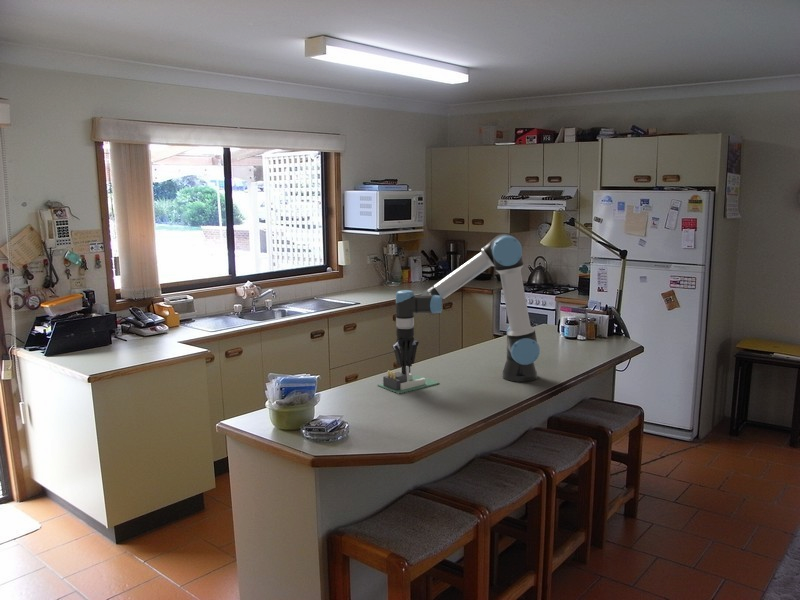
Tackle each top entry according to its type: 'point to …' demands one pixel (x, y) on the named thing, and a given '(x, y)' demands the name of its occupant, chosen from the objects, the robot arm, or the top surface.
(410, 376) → the header board
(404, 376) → the plug
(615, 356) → the top surface
